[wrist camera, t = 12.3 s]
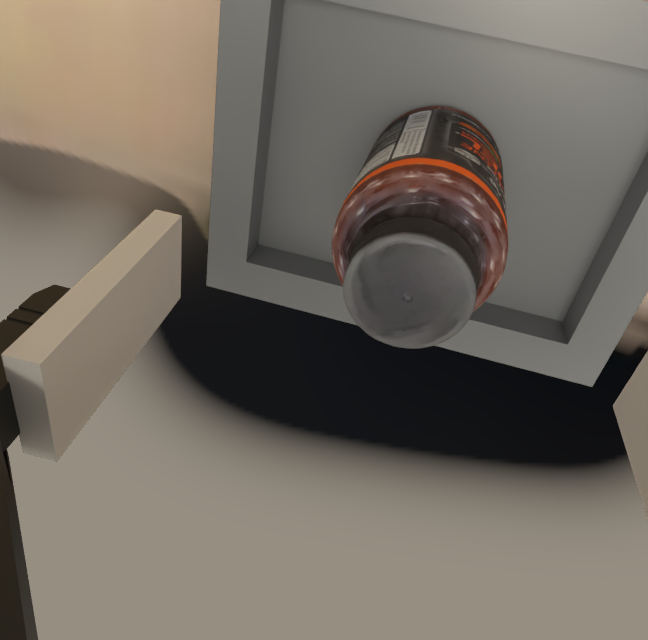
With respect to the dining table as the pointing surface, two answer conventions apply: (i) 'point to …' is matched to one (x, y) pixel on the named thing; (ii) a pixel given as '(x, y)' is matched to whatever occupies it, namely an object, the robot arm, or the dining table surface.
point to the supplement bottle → (423, 229)
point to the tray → (462, 94)
